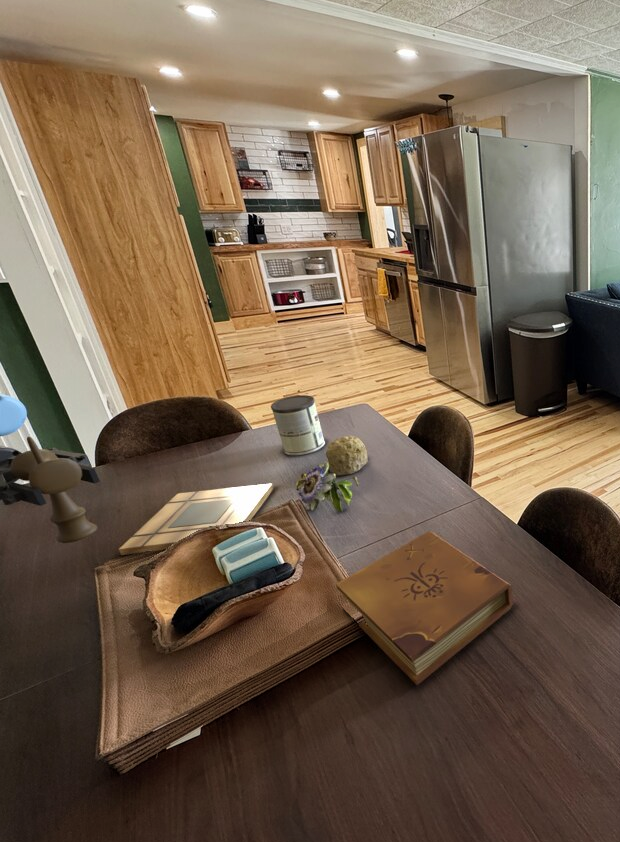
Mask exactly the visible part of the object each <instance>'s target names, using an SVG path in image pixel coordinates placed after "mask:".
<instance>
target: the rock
mask: <svg viewBox="0 0 620 842" xmlns="http://www.w3.org/2000/svg"><path fill="white" fill-rule="evenodd" d="M364 443H365V442H363V440H361V439H360V438H358V437H357V436H354V435H344V436H340V437H338V438H335V439H334V440H332V441H331V442H330V443H329V444H328V445H327V447H326V451H325V457H326V458H327V462H328V463H329V469H328V470H329V471H330V474H335V475H336V476H345V475H346V476H347V475H351V474H354V473H356V472H358V471H359V470H360V469H361V468H363V467H365V465H366V464H367V463H368V462H369V460H368V451H367V448H366V446H365V444H364Z"/></svg>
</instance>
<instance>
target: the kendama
mask: <svg viewBox="0 0 620 842" xmlns="http://www.w3.org/2000/svg"><path fill="white" fill-rule="evenodd" d="M26 441H27V445H28V447H29V449H30V450H26V451H24V452H21V454H19V455H18V456H17V457H15V458H14V459H13V460H12V463H11V465H10V467H11V471H12V473H13V474H14V475H15V477H16V478H19V480H21V481H24V482H29V486H30V487H32V488H37V489H40V491H41V493H42V495H49V498H50V503H51V507H52V514H51V516H50V517H49V521H50V522H51V523H53V524H55V525H56V526H57V528H58V529H57V530H58V534H57V536H56V541H57V542H58V543H61V544H70V543H74V542H78V541H82V540H84V539H86V538H87V537H88V538H89V537H90V536H92V535H93V534H94V533H95V532H96V531H97V530H98V526H97V524H95V523H92V522H90V520H88V519H87V518H86V512H87V510H86V508H85V507H83V506H80V505H77V503H75V502H74V501H73V499H72V498H71V497H70V496H69V495H68V493H67V491H69V490H71V489H73V488H75V487H76V486H77V485H78V484H79V483H80V482H81V481H82V480H81V477H82V470H81V468H80V466H79V465H78V464H77V463H76V462H75V461H73V460H70V459H66V458H57V456H56V455H55V454H54V453H53V452H51V451H49V450H47V449H42V448H39V446H38V444H37V443H36V442H35V440H34V439H33V438H32V437H31V436H27V437H26Z"/></svg>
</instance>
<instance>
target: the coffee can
mask: <svg viewBox="0 0 620 842" xmlns="http://www.w3.org/2000/svg"><path fill="white" fill-rule="evenodd" d="M315 400H316V399H315V397H314V396H312V395H307V394H303V395H302V394H300V395H291V396H287V397H284V398H281V399H277V400H276V401H273V403H271V404H270V409H271V411H272V415H273V417H274V420H275V424H276V427H277V431H278V434H279V438H280V441H281V444H282V447H283V452H284V454H286V455H288V456H302V455H308V454H311V453H314V452H316V451H318V450H321V448H323V447H324V446H325V444H326V441H325V438H324V435H323V429H322V426H321V423H320V419H319V414H318V411H317V406H316V403H315V402H316V401H315Z"/></svg>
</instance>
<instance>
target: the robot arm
mask: <svg viewBox="0 0 620 842" xmlns="http://www.w3.org/2000/svg"><path fill="white" fill-rule="evenodd" d="M27 415H28V411H27V408H26V406H25V405H24V404H23V403H22V401H20V400H19V399H18V398H15V397H13V396H12V395H8V394H7V395H6V394H3V393H0V437H5V436H9V435H11V434H14V433H15V432H17V431H18V430H19V429H21V428H22V427H23V426H24V424H25V423H26V420H27V417H28V416H27ZM46 450H49V451H51V452H53V453H54V454H55V455H56V456H57V458H66V459H70V460H73V461H75V462H76V463H77V464H78V465H79V466H80V468H81V470H82V477H81V480H80V481H82V482H86V483H90V484H94V485H95V484H97V483H99V482H101V480H100V477H99V476H98V473H97V472H96V469H95V467H93V465H92V463H91V461H90V459H89V456H88V454H86V453H79V452H74V451H73V452H72V451H65V450H59V449H57V448H56V447H50V448H47V449H46ZM21 453H22V451H19V450H18V449H15V448H12V447H10V446H9V447H8V446H4V445H0V501H2V503H3V504H4V506H9V505H12V504H15V503H18V502H21V501H22V502H25V503H27V504H32V505H36V506H39V507H41V506H44V505H47V500H46V499H45V498H44V494H42V493H41V491H40V489H37V488H32V487H31V486H30V485H26V484H21V483H18V482H17V481H19V480H20V479H19V478H16V477H15V475H14V474H13V473H12V471H11V467H10V465H11V463H12V460H13V459H14V458H15V457H17V456H18V455H19V454H21Z"/></svg>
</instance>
